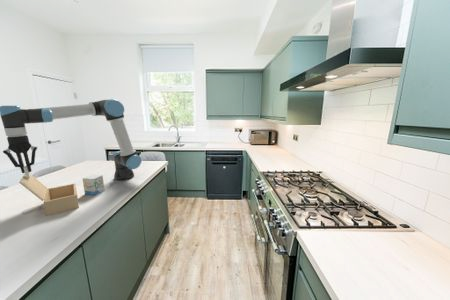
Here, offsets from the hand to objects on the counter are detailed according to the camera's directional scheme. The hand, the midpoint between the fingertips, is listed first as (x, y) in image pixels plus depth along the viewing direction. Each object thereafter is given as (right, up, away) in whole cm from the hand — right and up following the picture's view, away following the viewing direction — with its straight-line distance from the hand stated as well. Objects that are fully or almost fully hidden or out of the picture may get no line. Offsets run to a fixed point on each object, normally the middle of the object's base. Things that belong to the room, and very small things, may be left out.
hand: (28, 177), depth 105 cm
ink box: (+17, -14, +28) cm, 36 cm away
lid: (+1, -4, +2) cm, 5 cm away
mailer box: (+9, -18, +12) cm, 23 cm away
